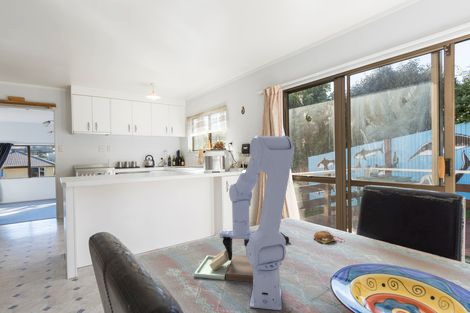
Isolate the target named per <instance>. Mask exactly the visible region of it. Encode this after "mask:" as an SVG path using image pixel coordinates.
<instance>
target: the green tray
mask: <svg viewBox="0 0 470 313" xmlns="http://www.w3.org/2000/svg"><path fill="white" fill-rule="evenodd" d="M215 256H216V255H206V257H204V259H203V260H202V262H201V263H200V265H199V266H198V267H197V269H196V270H195V271H194V273H193V277H194V278H199V279H209V280H210V279H211V280H213V279H214V280H226V272H227V270H228V268H229V265H230V263H231V261H232V260H231V261H230V260H228V262H226V263H225V264H223V265H222V266H221V267H219V268H218V269H216V270H215V271H213V270H212V268H211V267H210V263H211V262H212V260H213V258H214V257H215ZM233 257H234V256H232V259H233Z"/></svg>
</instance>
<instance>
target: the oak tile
mask: <svg viewBox="0 0 470 313" xmlns="http://www.w3.org/2000/svg"><path fill="white" fill-rule="evenodd" d="M214 256H215V257H214V258H213V260H212V262H211V263H210V267H211V268H212V270H213V271H215V270H216V269H218V268H219V267H221V266H222V265H223V264H225V263H226V262H228V260H229V257H228V253H227V250H226V248H224V249H223V250H222V251H221V252H220V253H218V254H216V255H214Z"/></svg>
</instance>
